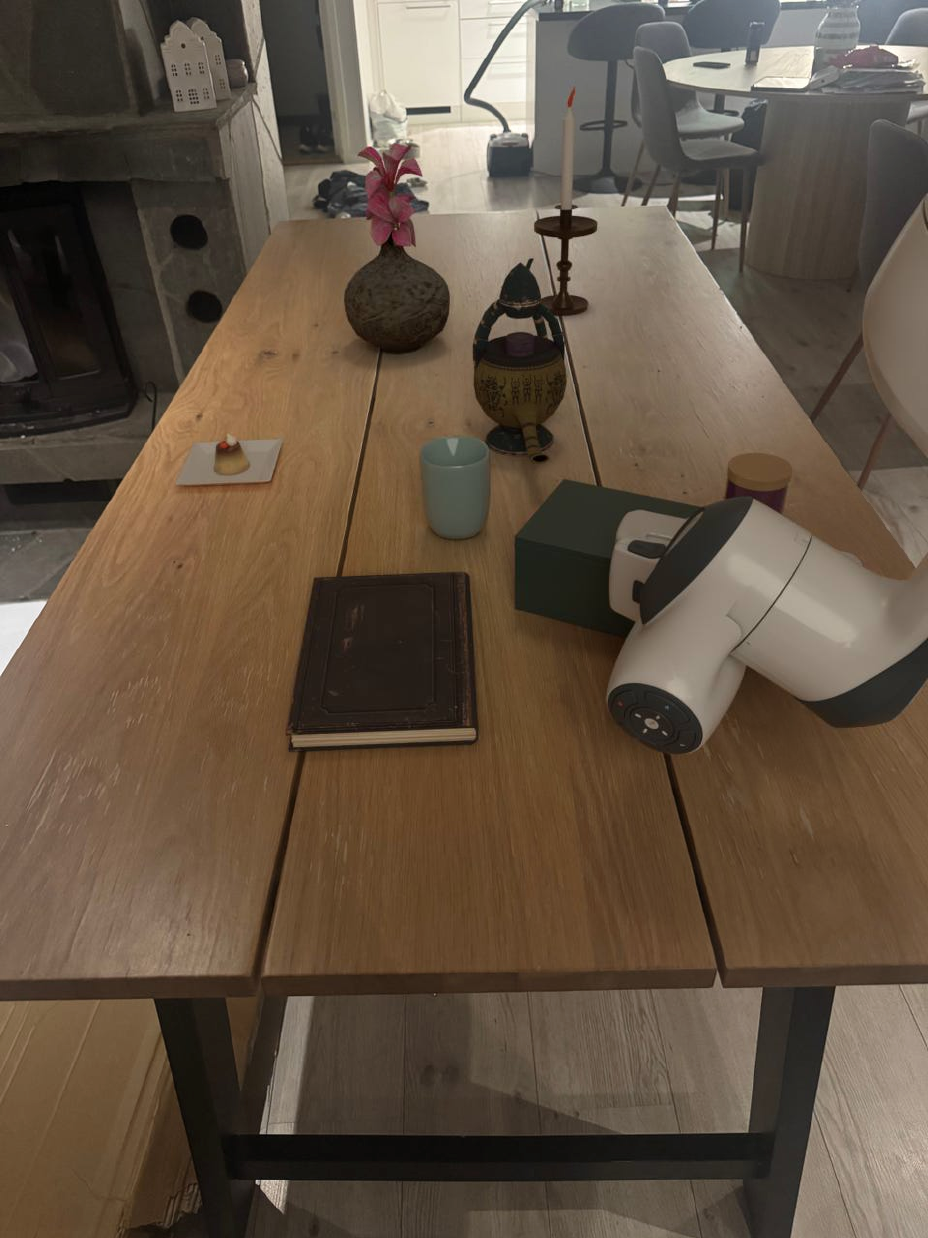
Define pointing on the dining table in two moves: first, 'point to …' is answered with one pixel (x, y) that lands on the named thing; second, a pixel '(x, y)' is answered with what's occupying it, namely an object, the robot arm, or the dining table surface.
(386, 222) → the vase
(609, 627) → the cabinet
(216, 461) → the dessert
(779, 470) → the canister
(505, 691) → the dining table surface
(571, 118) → the candlestick
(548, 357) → the teapot
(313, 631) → the hardcover book
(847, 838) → the dining table surface
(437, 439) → the cup
